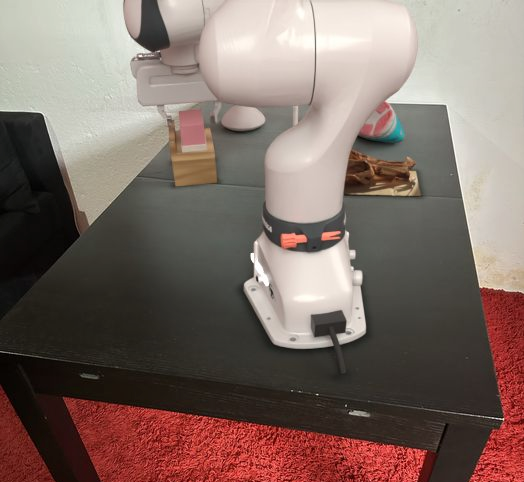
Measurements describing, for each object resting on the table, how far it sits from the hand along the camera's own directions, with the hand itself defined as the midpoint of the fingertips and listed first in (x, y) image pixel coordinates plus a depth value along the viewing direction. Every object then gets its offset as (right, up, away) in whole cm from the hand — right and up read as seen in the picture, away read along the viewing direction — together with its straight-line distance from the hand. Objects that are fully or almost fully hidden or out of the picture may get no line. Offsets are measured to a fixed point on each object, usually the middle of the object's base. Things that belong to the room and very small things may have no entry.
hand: (191, 124), depth 110 cm
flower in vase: (+10, +11, +27) cm, 31 cm away
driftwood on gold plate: (+34, -11, +2) cm, 36 cm away
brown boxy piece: (0, -7, +7) cm, 11 cm away
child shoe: (0, -2, +3) cm, 4 cm away
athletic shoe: (+39, +7, +22) cm, 45 cm away
